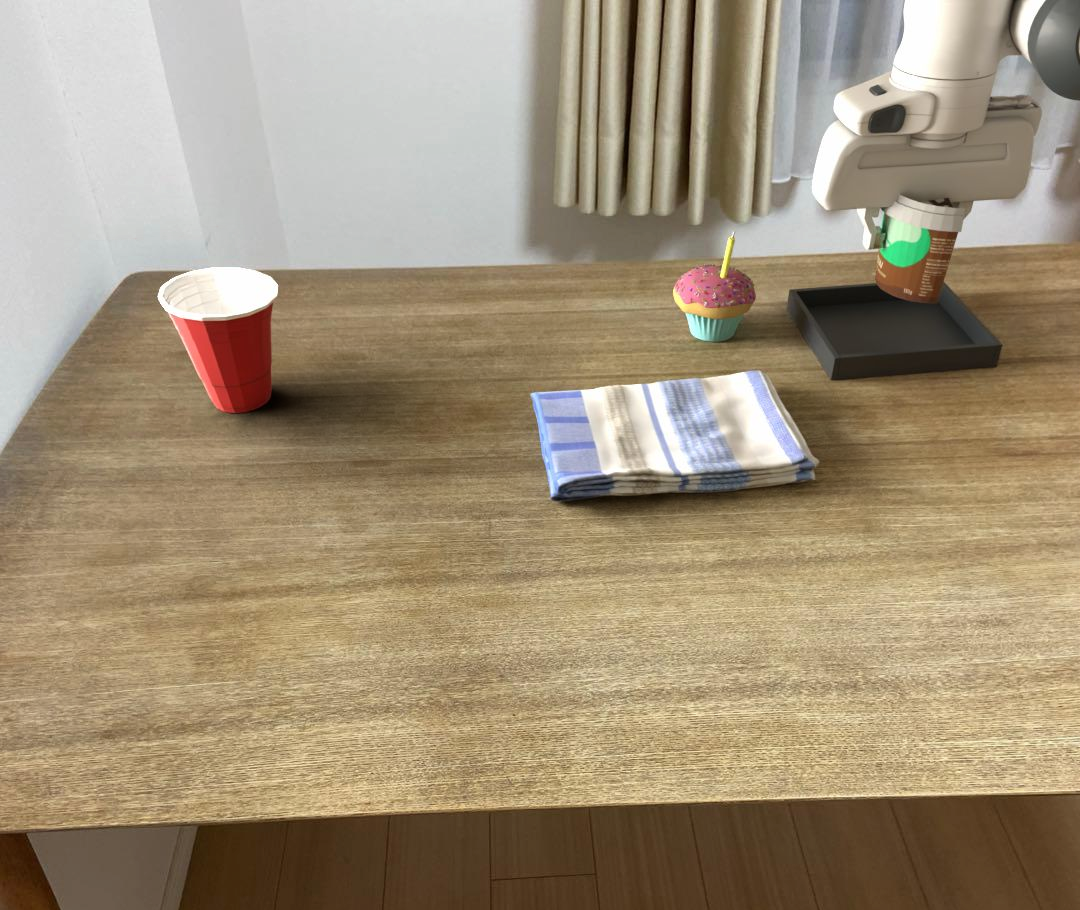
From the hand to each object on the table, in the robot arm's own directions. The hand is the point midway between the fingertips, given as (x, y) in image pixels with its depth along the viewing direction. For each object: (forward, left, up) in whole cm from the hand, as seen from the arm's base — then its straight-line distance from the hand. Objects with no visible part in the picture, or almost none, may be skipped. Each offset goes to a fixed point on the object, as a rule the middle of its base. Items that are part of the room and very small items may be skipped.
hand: (905, 244), depth 101 cm
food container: (0, 0, -4) cm, 4 cm away
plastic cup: (+67, +2, -10) cm, 68 cm away
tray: (0, 0, -10) cm, 10 cm away
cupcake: (+18, -4, -10) cm, 21 cm away
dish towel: (+27, +16, -10) cm, 33 cm away
